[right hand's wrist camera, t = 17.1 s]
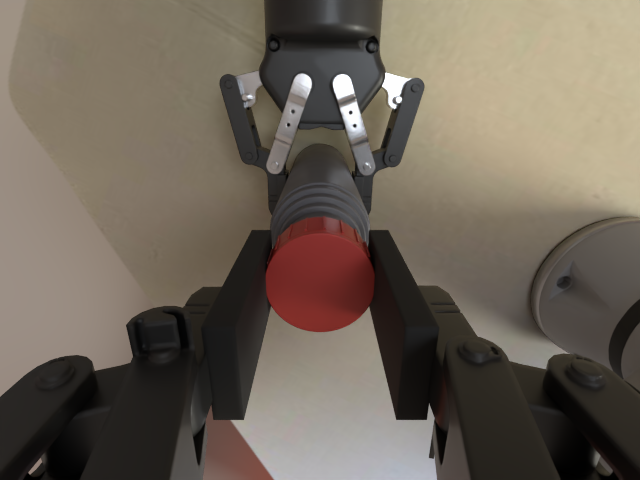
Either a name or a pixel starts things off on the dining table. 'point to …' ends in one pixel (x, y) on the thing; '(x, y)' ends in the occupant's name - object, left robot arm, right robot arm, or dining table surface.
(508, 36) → the dining table surface
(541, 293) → the right robot arm
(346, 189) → the bottle
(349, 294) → the cap
